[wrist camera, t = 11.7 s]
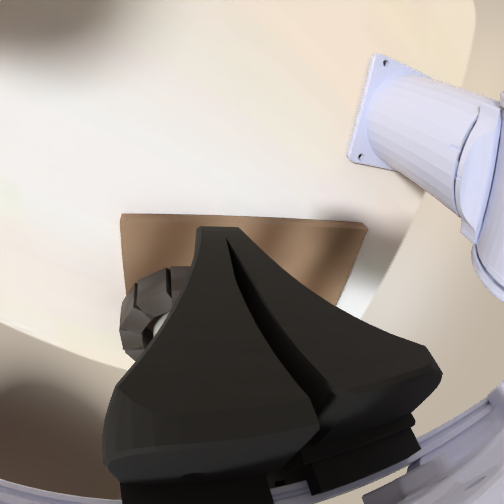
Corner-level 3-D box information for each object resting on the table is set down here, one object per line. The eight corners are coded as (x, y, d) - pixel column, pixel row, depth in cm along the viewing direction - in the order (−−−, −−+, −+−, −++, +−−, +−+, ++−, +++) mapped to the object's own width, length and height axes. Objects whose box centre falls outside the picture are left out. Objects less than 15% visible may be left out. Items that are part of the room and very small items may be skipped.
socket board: (361, 222, 24) (384, 247, 21) (312, 337, 32) (324, 363, 29) (114, 213, 19) (105, 243, 16) (131, 347, 26) (130, 379, 24)
